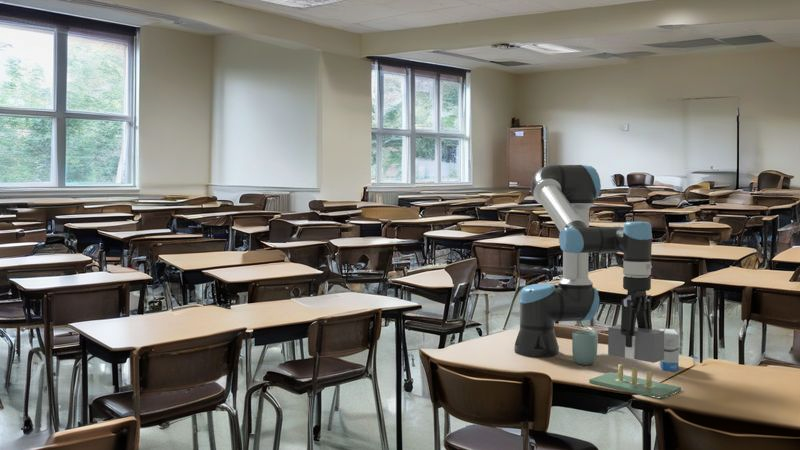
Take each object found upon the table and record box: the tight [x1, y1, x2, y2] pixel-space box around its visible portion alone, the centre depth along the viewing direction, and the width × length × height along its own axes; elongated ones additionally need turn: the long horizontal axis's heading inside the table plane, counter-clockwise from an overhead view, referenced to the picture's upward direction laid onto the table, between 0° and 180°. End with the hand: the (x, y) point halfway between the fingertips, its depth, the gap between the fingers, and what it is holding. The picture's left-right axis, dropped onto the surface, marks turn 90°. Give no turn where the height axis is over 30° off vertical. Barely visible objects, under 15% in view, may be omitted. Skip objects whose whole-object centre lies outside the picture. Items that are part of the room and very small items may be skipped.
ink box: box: [657, 328, 680, 372], centre depth 225 cm, size 8×5×12 cm, turn 168°
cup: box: [571, 330, 599, 366], centre depth 230 cm, size 8×8×10 cm
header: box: [588, 363, 682, 398], centre depth 204 cm, size 22×12×6 cm, turn 44°
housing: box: [607, 324, 664, 364], centre depth 203 cm, size 14×6×8 cm, turn 44°
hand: (635, 356), depth 203 cm, fingers closed on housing, 6 cm apart
